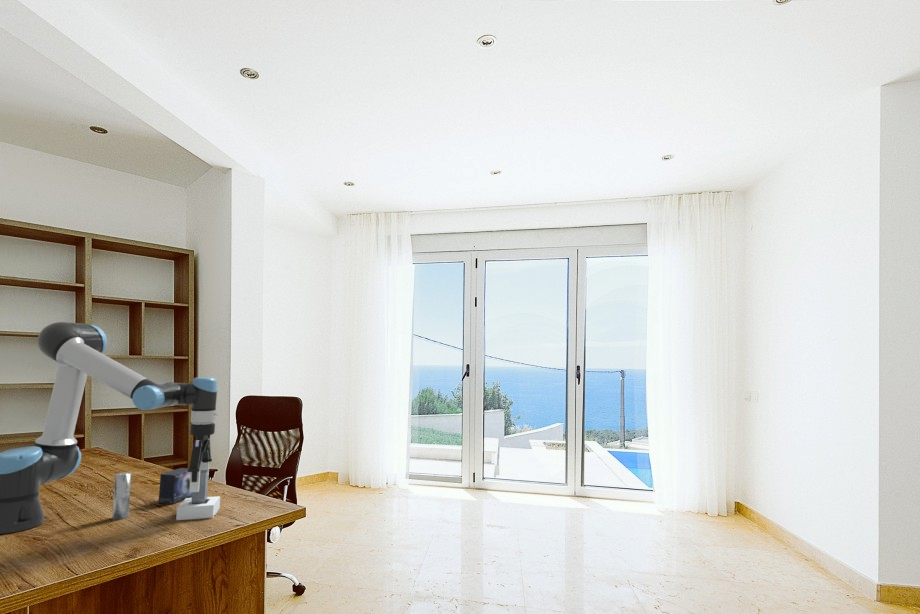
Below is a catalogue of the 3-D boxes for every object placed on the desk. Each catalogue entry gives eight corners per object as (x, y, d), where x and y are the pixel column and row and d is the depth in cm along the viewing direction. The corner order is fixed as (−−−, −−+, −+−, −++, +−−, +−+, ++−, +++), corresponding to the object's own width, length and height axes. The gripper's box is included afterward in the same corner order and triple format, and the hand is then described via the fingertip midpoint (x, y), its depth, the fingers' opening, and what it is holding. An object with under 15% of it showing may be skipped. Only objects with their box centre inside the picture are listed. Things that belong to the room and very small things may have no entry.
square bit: (190, 516, 171) (192, 473, 172) (193, 512, 175) (195, 470, 176) (203, 515, 172) (205, 472, 173) (206, 511, 176) (208, 469, 177)
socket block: (176, 520, 167) (176, 507, 167) (185, 510, 178) (185, 498, 178) (213, 517, 170) (213, 505, 170) (219, 507, 180) (220, 496, 181)
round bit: (110, 520, 167) (113, 475, 168) (115, 516, 171) (118, 472, 172) (125, 519, 168) (128, 475, 169) (130, 515, 172) (133, 472, 173)
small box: (173, 504, 184) (174, 474, 185) (157, 503, 185) (159, 473, 186) (193, 496, 194) (195, 468, 195) (178, 495, 196) (180, 467, 197)
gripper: (206, 427, 165) (202, 495, 163) (221, 418, 189) (218, 477, 187) (181, 428, 163) (176, 497, 161) (199, 418, 187) (195, 478, 186)
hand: (199, 486), depth 174 cm, fingers open, 13 cm apart
